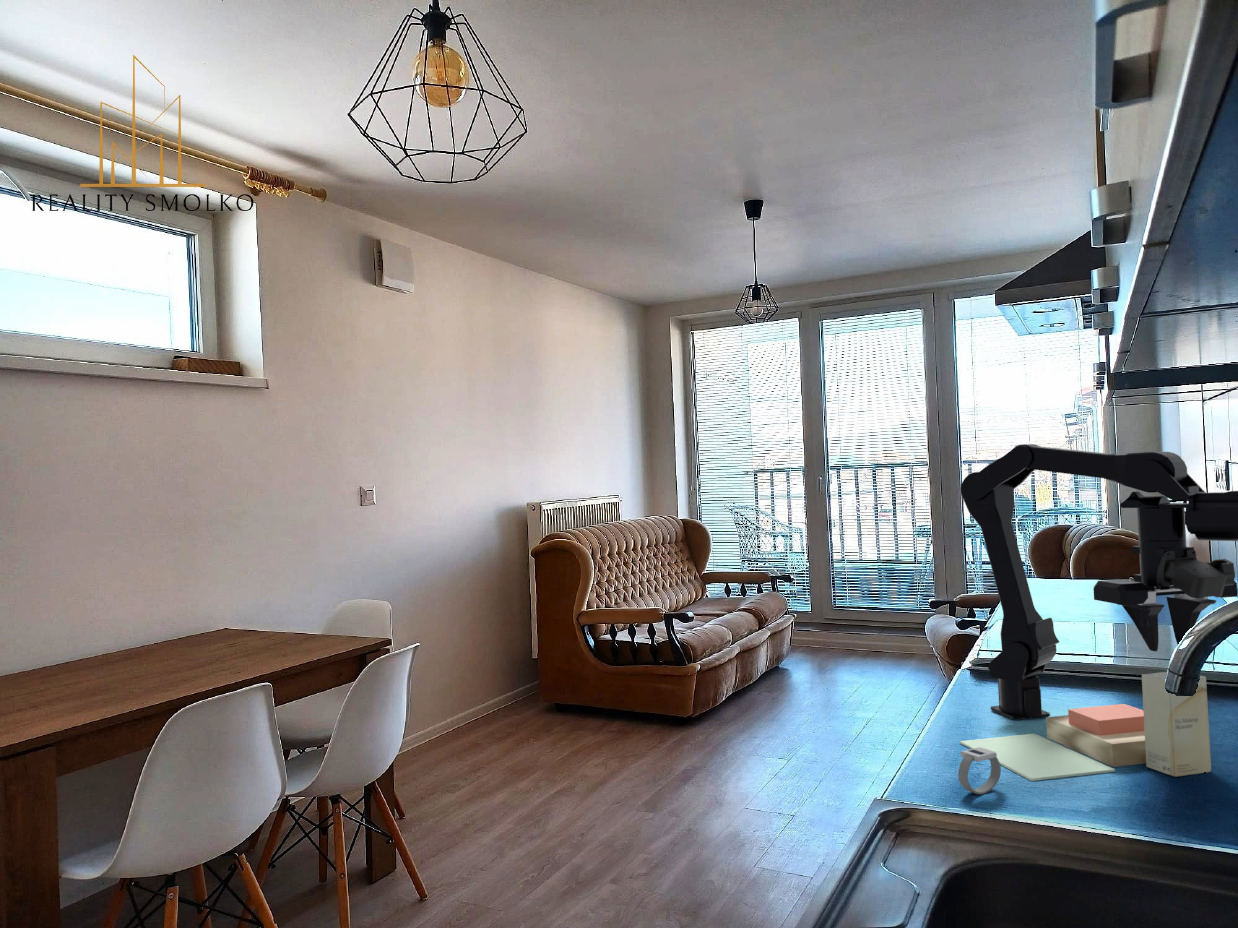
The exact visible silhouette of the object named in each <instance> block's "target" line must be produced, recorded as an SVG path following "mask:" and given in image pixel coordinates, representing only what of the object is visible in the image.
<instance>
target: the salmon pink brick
mask: <svg viewBox="0 0 1238 928" xmlns="http://www.w3.org/2000/svg"><path fill="white" fill-rule="evenodd" d="M1067 713H1068V714H1067V715H1068V718H1069V724H1072V725H1074V726H1077V727H1079V728H1082V729H1084V730H1087V731H1089V732H1092V733H1094V734H1097V735H1099V736H1100V735H1110V734H1120V733H1129V732H1139V731H1145V730H1144V710H1143V709H1140V708H1138V707H1134V706H1131V705H1128V704H1127V703H1126V704H1125V703H1120V704H1109V705H1108V704H1107V705H1101V706H1100V705H1098V706H1097V705H1095V706H1087V707H1079V708H1068V709H1067Z"/></svg>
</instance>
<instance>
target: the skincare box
mask: <svg viewBox="0 0 1238 928" xmlns="http://www.w3.org/2000/svg"><path fill="white" fill-rule="evenodd" d="M1167 672H1168V671H1160V672H1154V673H1144V674H1142V673H1141V685H1142V686H1141V688H1142V690H1141V691H1142V704H1143V705H1142V707H1143V709H1142V710H1144V730H1145V749H1146V763H1145V766H1146V767H1147V768H1150V769H1152V770H1155V771H1156V772H1159V773H1163V774H1166V775H1168V776H1171V777H1183V776H1191V775H1198V774H1204V772H1206V773H1209V772H1212V763H1211V762H1212V761H1211V758H1212V757H1211V741H1210V724H1209V708H1208V691H1207V690H1208V689H1207V676H1205V675H1200V680H1199V682H1198V687H1197V689H1196V693H1195V694H1194V695H1193V696H1176V695H1175V694H1171V693H1168V692H1167V691H1166V689H1165V678H1166V676H1167Z"/></svg>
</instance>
